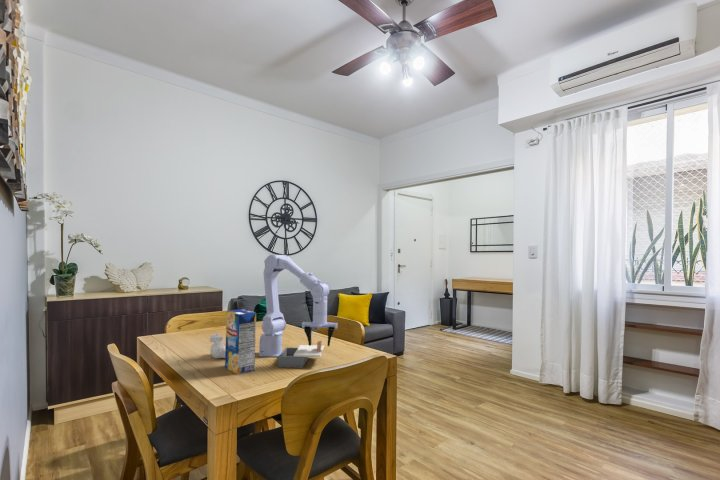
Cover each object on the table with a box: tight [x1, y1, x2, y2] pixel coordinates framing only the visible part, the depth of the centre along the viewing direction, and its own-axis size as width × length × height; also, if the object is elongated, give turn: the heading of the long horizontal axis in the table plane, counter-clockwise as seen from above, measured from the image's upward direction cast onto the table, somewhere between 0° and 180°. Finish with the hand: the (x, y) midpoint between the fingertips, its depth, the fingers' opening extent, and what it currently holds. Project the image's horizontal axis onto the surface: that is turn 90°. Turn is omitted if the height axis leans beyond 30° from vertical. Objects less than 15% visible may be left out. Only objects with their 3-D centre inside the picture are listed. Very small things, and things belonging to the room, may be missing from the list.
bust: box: [209, 333, 226, 359], centre depth 153 cm, size 12×8×11 cm
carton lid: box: [294, 339, 325, 358], centre depth 149 cm, size 10×14×4 cm
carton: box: [277, 346, 309, 369], centre depth 149 cm, size 10×14×4 cm
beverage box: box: [224, 308, 257, 375], centre depth 139 cm, size 7×11×22 cm, turn 44°
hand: (319, 345), depth 149 cm, fingers open, 7 cm apart
